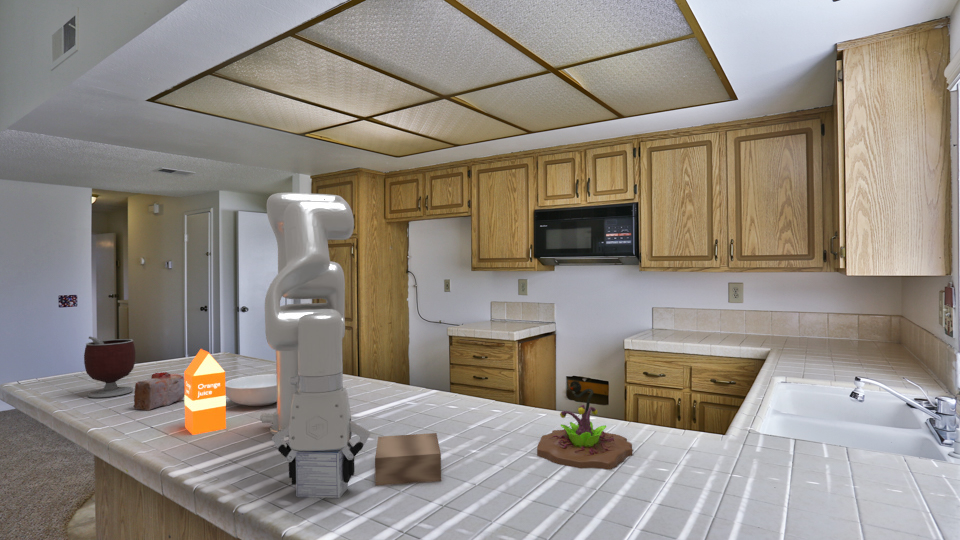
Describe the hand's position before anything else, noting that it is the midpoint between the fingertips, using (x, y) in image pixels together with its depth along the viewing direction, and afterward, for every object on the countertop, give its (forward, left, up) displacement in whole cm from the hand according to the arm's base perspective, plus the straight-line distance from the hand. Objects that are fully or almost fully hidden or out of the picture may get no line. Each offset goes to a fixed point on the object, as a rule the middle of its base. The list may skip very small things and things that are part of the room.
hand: (322, 480), depth 90 cm
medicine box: (0, 0, -3) cm, 3 cm away
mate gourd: (-91, +84, -3) cm, 124 cm away
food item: (-65, +68, -3) cm, 94 cm away
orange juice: (-40, +42, -3) cm, 58 cm away
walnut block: (+14, +9, -3) cm, 17 cm away
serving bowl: (-35, +67, -3) cm, 76 cm away
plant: (+51, +16, -3) cm, 54 cm away
